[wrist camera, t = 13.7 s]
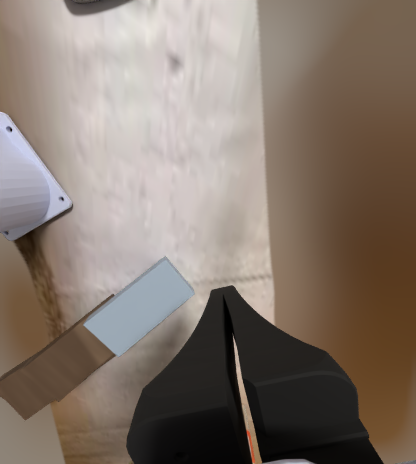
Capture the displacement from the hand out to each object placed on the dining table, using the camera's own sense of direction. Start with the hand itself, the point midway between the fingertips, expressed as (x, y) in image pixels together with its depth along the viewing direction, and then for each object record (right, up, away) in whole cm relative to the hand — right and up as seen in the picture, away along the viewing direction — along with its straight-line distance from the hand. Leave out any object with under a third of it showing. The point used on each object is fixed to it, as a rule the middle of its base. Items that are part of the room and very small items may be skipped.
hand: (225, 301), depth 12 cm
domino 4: (-10, -5, +11) cm, 16 cm away
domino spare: (-4, -1, +10) cm, 11 cm away
